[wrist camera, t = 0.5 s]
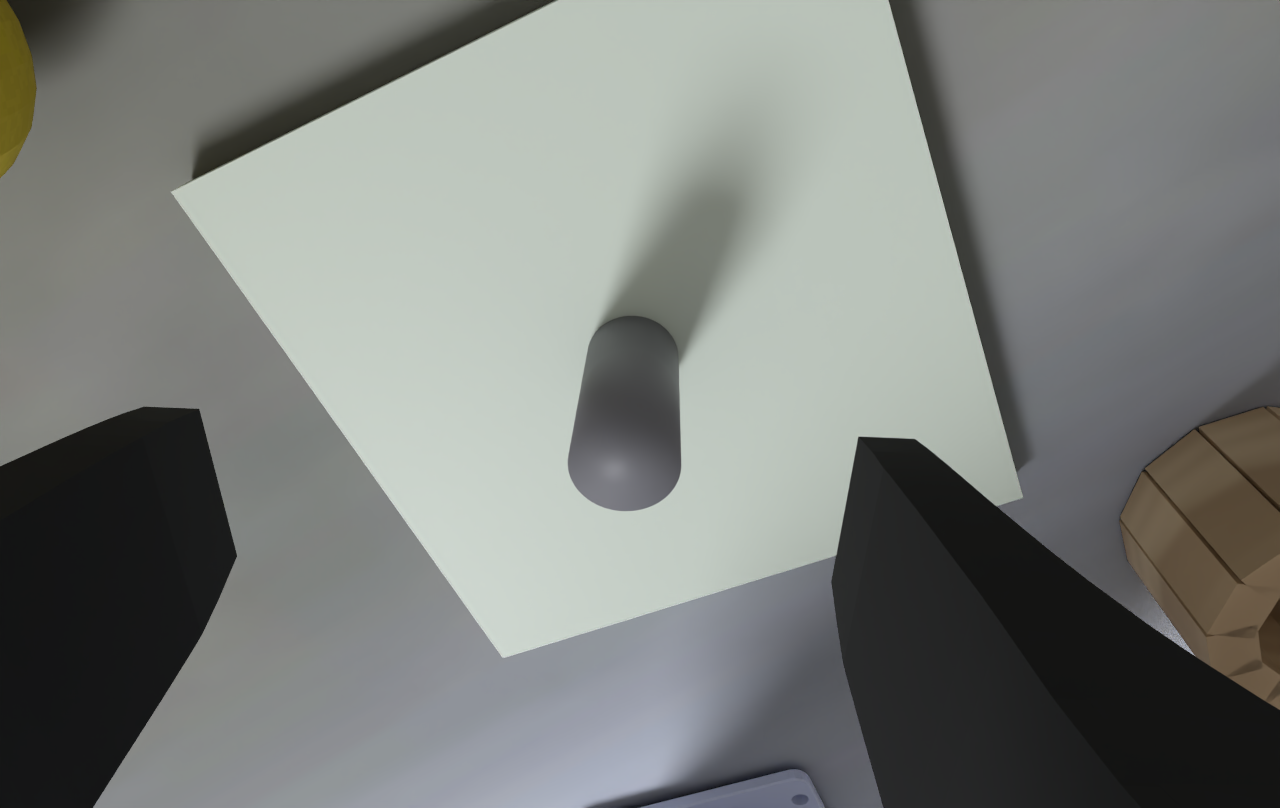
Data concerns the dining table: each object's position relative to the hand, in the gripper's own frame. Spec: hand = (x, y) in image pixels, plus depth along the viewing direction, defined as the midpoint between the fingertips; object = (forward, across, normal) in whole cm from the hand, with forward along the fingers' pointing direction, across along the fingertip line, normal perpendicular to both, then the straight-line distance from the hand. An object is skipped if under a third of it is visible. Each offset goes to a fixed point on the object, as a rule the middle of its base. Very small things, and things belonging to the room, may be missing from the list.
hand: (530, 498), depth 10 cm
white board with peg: (+10, -1, +3) cm, 10 cm away
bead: (+10, -16, +6) cm, 20 cm away
